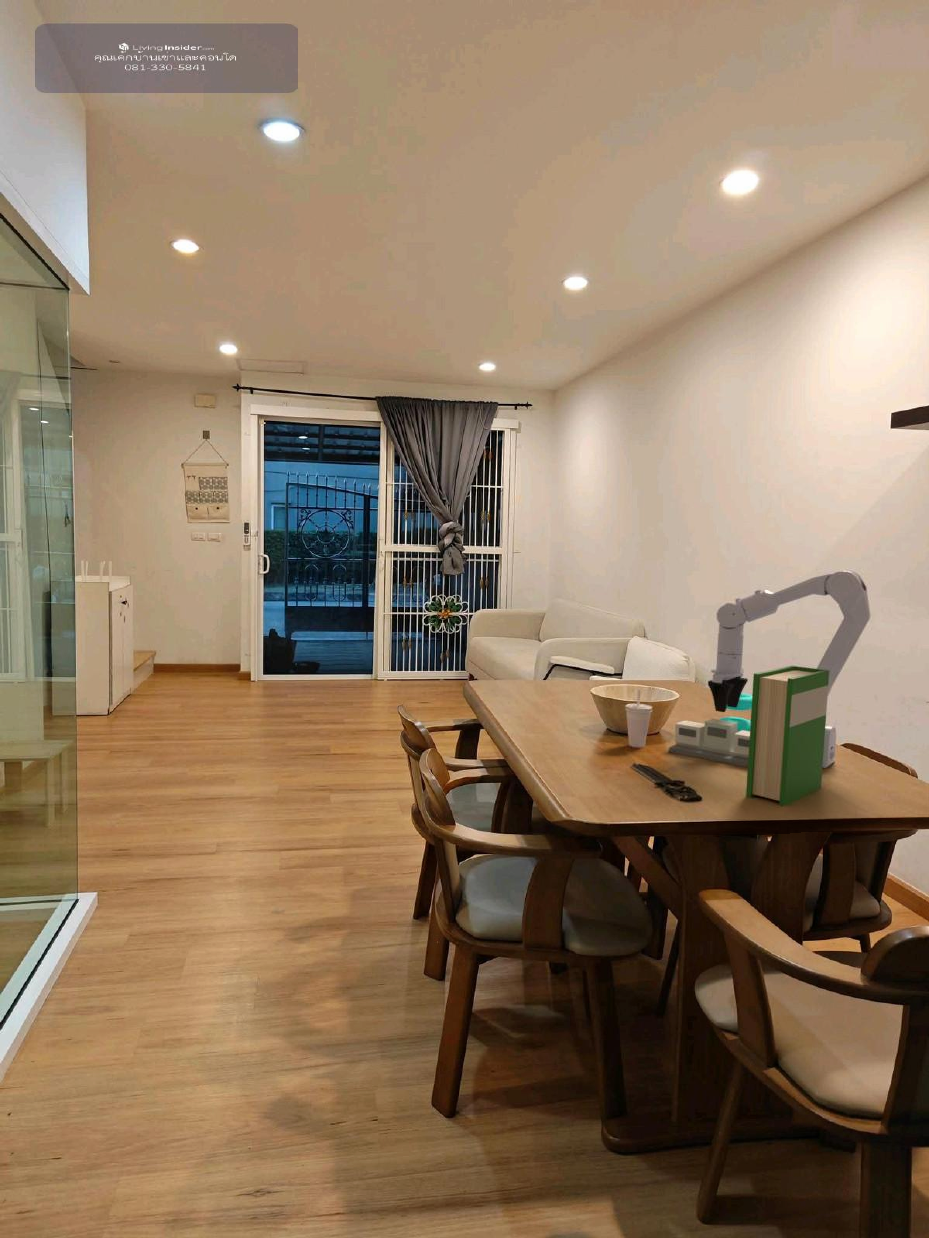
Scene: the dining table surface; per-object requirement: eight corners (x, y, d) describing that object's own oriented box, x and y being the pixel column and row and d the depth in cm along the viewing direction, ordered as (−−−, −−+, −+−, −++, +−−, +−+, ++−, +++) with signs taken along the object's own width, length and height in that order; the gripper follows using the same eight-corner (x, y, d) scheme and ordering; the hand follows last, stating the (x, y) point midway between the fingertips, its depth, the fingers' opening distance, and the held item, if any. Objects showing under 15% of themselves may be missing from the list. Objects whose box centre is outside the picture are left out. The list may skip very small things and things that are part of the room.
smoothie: (620, 746, 182) (622, 688, 181) (627, 740, 187) (630, 684, 186) (646, 750, 179) (649, 691, 178) (653, 744, 184) (656, 687, 183)
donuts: (765, 696, 198) (741, 699, 192) (763, 734, 199) (738, 738, 193) (733, 690, 206) (709, 693, 201) (731, 726, 207) (706, 730, 202)
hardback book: (784, 806, 141) (792, 679, 139) (745, 796, 146) (753, 673, 144) (820, 787, 153) (829, 670, 151) (784, 779, 159) (792, 665, 156)
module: (736, 748, 176) (737, 722, 175) (728, 751, 172) (730, 725, 172) (710, 743, 180) (712, 718, 179) (703, 747, 176) (704, 721, 176)
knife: (626, 766, 167) (626, 760, 167) (654, 766, 168) (655, 759, 167) (673, 804, 142) (673, 797, 142) (706, 803, 143) (706, 796, 143)
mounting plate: (771, 759, 174) (773, 732, 174) (754, 768, 166) (756, 740, 165) (688, 743, 187) (689, 718, 186) (668, 751, 178) (670, 725, 178)
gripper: (724, 649, 190) (721, 702, 191) (701, 654, 179) (698, 710, 180) (753, 652, 185) (749, 706, 186) (731, 657, 174) (727, 715, 175)
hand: (726, 709), depth 183 cm, fingers open, 7 cm apart
